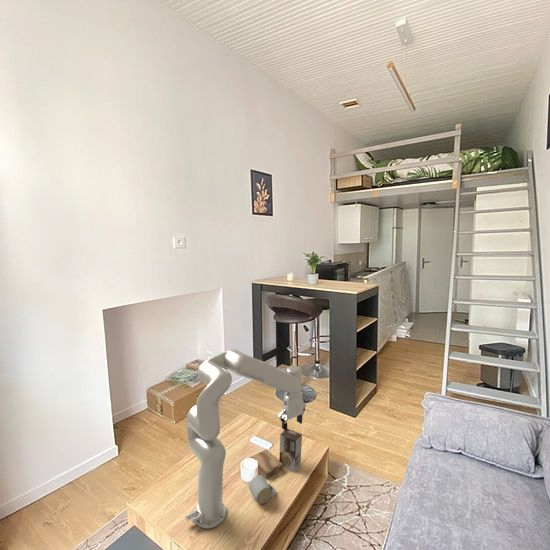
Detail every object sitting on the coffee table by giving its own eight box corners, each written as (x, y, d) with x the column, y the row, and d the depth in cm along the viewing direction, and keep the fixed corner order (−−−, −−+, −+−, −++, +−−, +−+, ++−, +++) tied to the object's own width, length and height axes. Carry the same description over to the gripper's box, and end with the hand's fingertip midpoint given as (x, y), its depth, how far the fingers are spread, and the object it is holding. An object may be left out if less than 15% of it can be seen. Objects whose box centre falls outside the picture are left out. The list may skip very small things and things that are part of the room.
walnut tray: (266, 479, 142) (266, 472, 141) (250, 462, 152) (250, 457, 151) (282, 469, 148) (282, 463, 148) (266, 454, 158) (266, 449, 158)
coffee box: (301, 464, 152) (302, 434, 150) (294, 472, 146) (296, 441, 145) (285, 457, 157) (286, 427, 155) (278, 464, 151) (279, 434, 150)
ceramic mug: (256, 508, 126) (257, 491, 125) (248, 494, 133) (249, 477, 132) (279, 498, 132) (280, 482, 131) (269, 485, 139) (270, 469, 138)
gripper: (284, 401, 139) (283, 436, 141) (311, 390, 150) (310, 423, 152) (274, 394, 145) (273, 428, 147) (300, 384, 156) (299, 416, 158)
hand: (292, 425), depth 150 cm, fingers open, 9 cm apart
